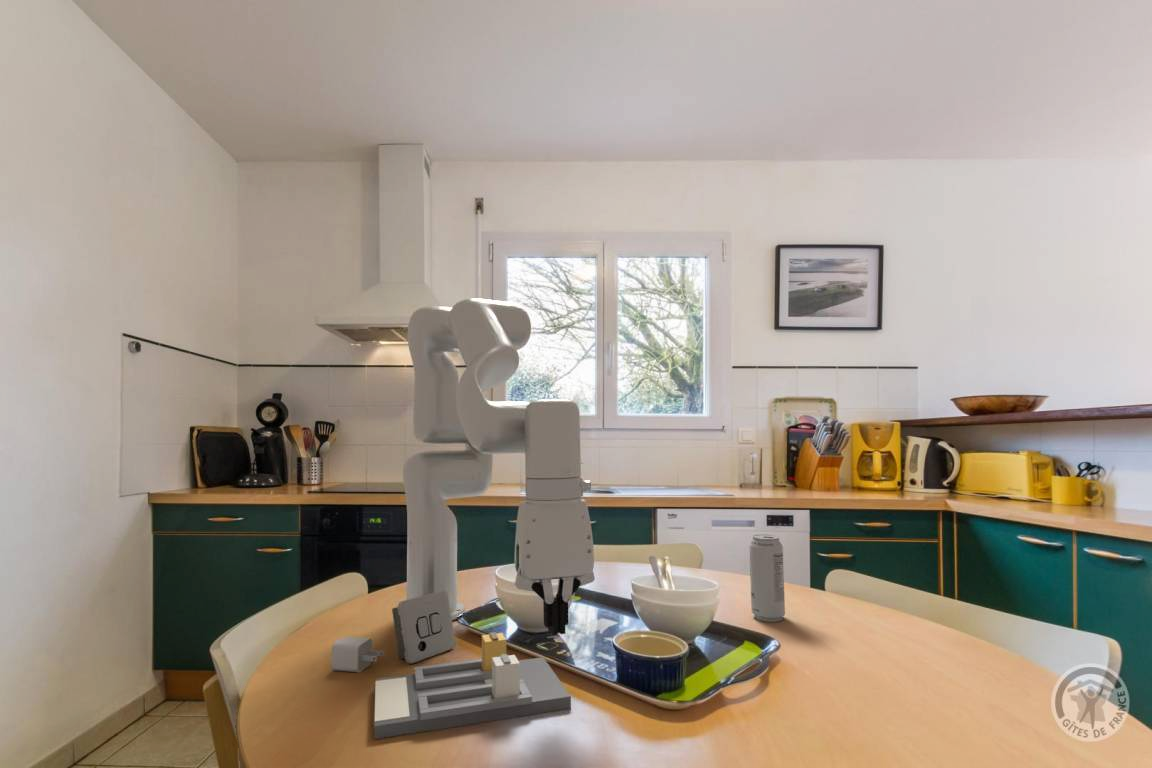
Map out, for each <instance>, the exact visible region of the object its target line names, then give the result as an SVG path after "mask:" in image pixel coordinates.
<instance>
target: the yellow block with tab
mask: <svg viewBox="0 0 1152 768" xmlns="http://www.w3.org/2000/svg"><path fill="white" fill-rule="evenodd" d="M502 654H507V638H506V636H505V635H504V634H503V632H498V633H497V632H496V631H493V632H489V634H482V635H481V659H482V669H483V671H489V670H492V658H493V657H501V655H502Z"/></svg>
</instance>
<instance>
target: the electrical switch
mask: <svg viewBox="0 0 1152 768" xmlns="http://www.w3.org/2000/svg"><path fill="white" fill-rule="evenodd" d="M391 612H392V618H393V624H394V631H395V638H396V645H397V651H398V657H399V659H400V660H401V659H402V660H403V659H405V662H406V663H407V664H408V665H411V664H414V663H417V662H420V661H424V660H425V659H428V658H431V657H433V656H436V655H439V654H441V653H444V652H446V651H450V650H453V649H454V648H456V644H457V641H456V635H455V630H454V625H453V624H454V623H453V620H452V617H451V612H450V606H449V600H448V594H447V592H446V591H438V592H434V593H431V594H427V595H423V596H420V597H416V598H412V599H409V600H407V599H405V600H401V601H400V602H398V604H397V607H393V608H392V609H391Z"/></svg>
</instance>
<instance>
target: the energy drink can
mask: <svg viewBox="0 0 1152 768" xmlns="http://www.w3.org/2000/svg"><path fill="white" fill-rule="evenodd" d="M749 568H750V569H749V573H750V576H749V577H750V601H751V602H750V603H751V605H750V606H751V610H750V611H751V613H752V614H753V615H754V618H755V619H756V620H758V621H763V622H766V623H767V622H769V623H774V622H775V623H776V622H780V621H782V620H783V617H784V616H785V615H786V607H785V605H786V604H785V603H786V602H785V580H784V579H785V577H784V575H785V574H784V573H785V571H784V546H783V544H782V543H781V541H780V537H779V536H778V535H773V534H754V535H752V540H751V542H750V543H749Z"/></svg>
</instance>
